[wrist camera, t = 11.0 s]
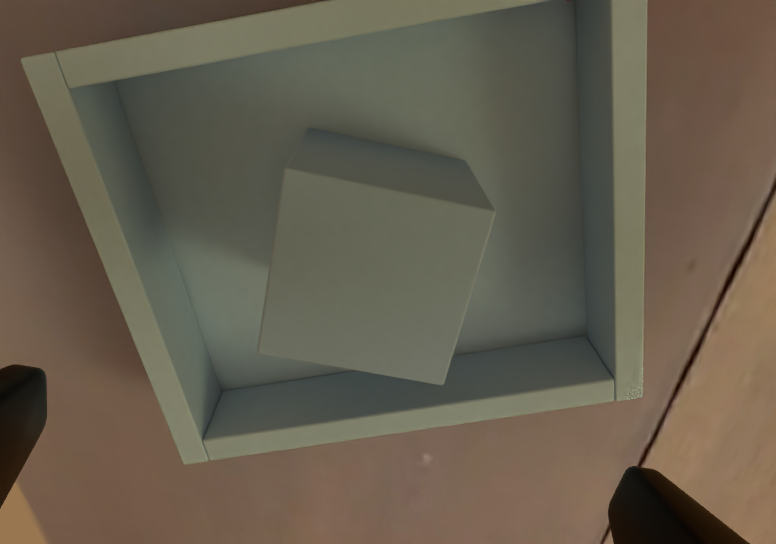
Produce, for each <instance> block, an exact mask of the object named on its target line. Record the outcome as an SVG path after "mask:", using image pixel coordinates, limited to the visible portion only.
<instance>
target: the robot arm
mask: <svg viewBox="0 0 776 544" xmlns="http://www.w3.org/2000/svg"><path fill="white" fill-rule="evenodd" d="M46 418H47V385H46V375H45V372H44V371H43V370H42V369H40V368H36V367H30V366H24V365H10V366H7V367H4V368H2V369H0V508H1V506H2V504H3V503H4V500H5V499H6V497H7V495H8V493H9V492H10V490H11V488H12V486H13V484H14V482H15V481H16V479H17V477H18V475H19V473H20V471H21V470H22V468H23V466H24V464H25V462H26V460H27V459H28V457H29V455H30V453H31V451H32V449H33V448H34V446H35V444H36V442H37V440H38V438H39V437H40V435H41V433H42V431H43V429H44V426H45V423H46ZM608 518H609V523H610V528H611V532H612V537H613V542H614V544H749V543H748V542H747V541H746V540H744V539H743V538H742V537H741V536H739V535H738V534H737V533H735V532H734V531H733V530H732V529H730V528H729V527H728V526H727V525H725V524H724V523H723V522H722V521H720V520H719V519H718V518H716V517H715V516H714V515H713V514H711V513H710V512H709V511H708V510H706V509H705V508H704V507H703V506H701V505H700V504H699V503H698V502H696V501H695V500H694V499H692V498H691V497H690V496H689V495H687V494H686V493H685V492H684V491H682V490H681V489H680V488H679V487H677V486H676V485H675V484H673V483H672V482H671V481H670V480H668V479H667V478H666V477H665V476H663V475H662V474H661V473H660V472H658V471H656V470H654V469H649V468H643V467H637V466H632V467H629V468H628V469H627V470H626V471H625V473H624V475H623V477H622V479H621V481H620V483H619V485H618V487H617V489H616V491H615V493H614V495H613V497H612V499H611V501H610V504H609V509H608Z"/></svg>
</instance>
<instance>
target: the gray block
mask: <svg viewBox="0 0 776 544" xmlns="http://www.w3.org/2000/svg"><path fill="white" fill-rule="evenodd" d="M495 215H496V211H495V209H494V207H493V206H492V204H491V202H490V201H489V199H488V197H487V196H486V194H485V192H484V190H483V189H482V187H481V185H480V184H479V182H478V180H477V178H476V177H475V175H474V173H473V172H472V170H471V168H470V167H469V165H468V163H467V162H466V161H463V160H459V159H454V158H449V157H445V156H440V155H435V154H431V153H426V152H421V151H417V150H412V149H407V148H403V147H398V146H393V145H389V144H384V143H379V142H375V141H370V140H365V139H361V138H356V137H351V136H347V135H342V134H337V133H333V132H328V131H323V130H319V129H314V128H308V129H307V131H306V132H305V134H304V136H303V138H302V139H301V141H300V143H299V145H298V146H297V148H296V150H295V151H294V153H293V155H292V157H291V158H290V160H289V162H288V163H287V165H286V167H285V169H284V171H283V178H282V185H281V191H280V198H279V205H278V212H277V218H276V225H275V232H274V239H273V246H272V252H271V259H270V266H269V273H268V279H267V286H266V293H265V300H264V307H263V313H262V320H261V327H260V334H259V340H258V347H257V352H258V353H259V354H264V355H270V356H276V357H281V358H287V359H293V360H299V361H304V362H310V363H316V364H322V365H328V366H333V367H339V368H345V369H351V370H356V371H362V372H368V373H374V374H380V375H385V376H391V377H397V378H403V379H408V380H414V381H420V382H426V383H431V384H437V385H443V384H444V382H445V379H446V375H447V372H448V369H449V366H450V362H451V359H452V356H453V353H454V349H455V346H456V343H457V339H458V336H459V333H460V330H461V326H462V323H463V320H464V317H465V313H466V310H467V307H468V304H469V300H470V297H471V294H472V290H473V287H474V284H475V281H476V277H477V274H478V271H479V268H480V264H481V261H482V258H483V255H484V251H485V248H486V245H487V241H488V238H489V235H490V232H491V228H492V225H493V222H494V219H495Z"/></svg>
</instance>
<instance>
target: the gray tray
mask: <svg viewBox="0 0 776 544" xmlns="http://www.w3.org/2000/svg"><path fill="white" fill-rule="evenodd" d="M21 63H22V65H23V68H24V70H25V73H26V75H27V78H28V80H29V83H30V85H31V88H32V90H33V93H34V95H35V98H36V100H37V103H38V105H39V108H40V110H41V113H42V115H43V117H44V120H45V122H46V125H47V127H48V130H49V132H50V135H51V137H52V140H53V142H54V145H55V147H56V150H57V152H58V155H59V157H60V160H61V162H62V165H63V167H64V170H65V172H66V175H67V177H68V179H69V182H70V184H71V187H72V189H73V192H74V194H75V197H76V199H77V202H78V204H79V207H80V209H81V212H82V214H83V217H84V219H85V222H86V224H87V227H88V229H89V232H90V234H91V236H92V239H93V241H94V244H95V246H96V249H97V251H98V254H99V256H100V259H101V261H102V264H103V266H104V269H105V271H106V274H107V276H108V279H109V281H110V284H111V286H112V289H113V291H114V293H115V296H116V298H117V301H118V303H119V306H120V308H121V311H122V313H123V316H124V318H125V321H126V323H127V326H128V328H129V331H130V333H131V336H132V338H133V341H134V343H135V346H136V348H137V350H138V353H139V355H140V358H141V360H142V363H143V365H144V368H145V370H146V373H147V375H148V378H149V380H150V383H151V385H152V388H153V390H154V393H155V395H156V398H157V400H158V403H159V405H160V407H161V410H162V412H163V415H164V417H165V420H166V422H167V425H168V427H169V430H170V432H171V435H172V437H173V440H174V442H175V445H176V447H177V450H178V452H179V455H180V457H181V460H182V462H183V464H185V465H186V464H193V463H200V462H207V461H208V460H209V459H210V460H218V459H225V458H232V457H239V456H246V455H252V454H259V453H266V452H273V451H280V450H286V449H293V448H300V447H307V446H314V445H320V444H327V443H334V442H341V441H348V440H355V439H361V438H368V437H375V436H382V435H389V434H395V433H402V432H409V431H416V430H423V429H429V428H436V427H443V426H450V425H457V424H463V423H470V422H477V421H484V420H491V419H498V418H504V417H511V416H518V415H525V414H532V413H538V412H545V411H552V410H559V409H566V408H572V407H579V406H586V405H593V404H600V403H606V402H613V401H614V399H615V401H623V400H629V399H636V398H642V397H643V351H644V261H645V171H646V80H647V0H570V1H567V0H326V1H321V2H315V3H310V4H305V5H299V6H294V7H289V8H283V9H278V10H273V11H267V12H262V13H257V14H251V15H246V16H241V17H235V18H230V19H225V20H219V21H214V22H209V23H203V24H198V25H193V26H188V27H182V28H177V29H172V30H166V31H161V32H156V33H150V34H145V35H140V36H134V37H129V38H124V39H118V40H113V41H108V42H102V43H97V44H92V45H86V46H81V47H76V48H70V49H65V50H60V51H56V52H49V53H44V54H39V55H33V56H28V57H23V58H21ZM308 128H314V129H319V130H323V131H328V132H333V133H337V134H342V135H347V136H351V137H356V138H361V139H365V140H370V141H375V142H379V143H384V144H389V145H393V146H398V147H403V148H407V149H412V150H417V151H421V152H426V153H431V154H435V155H440V156H445V157H449V158H454V159H459V160H463V161H466V162H467V163H468V165H469V167H470V168H471V170H472V172H473V173H474V175H475V177H476V178H477V180H478V182H479V184H480V185H481V187H482V189H483V190H484V192H485V194H486V196H487V197H488V199H489V201H490V202H491V204H492V206H493V207H494V209H495V211H496V215H495V219H494V222H493V225H492V228H491V232H490V235H489V238H488V241H487V245H486V248H485V251H484V255H483V258H482V261H481V264H480V268H479V271H478V274H477V277H476V281H475V284H474V287H473V290H472V294H471V297H470V300H469V304H468V307H467V310H466V313H465V317H464V320H463V323H462V326H461V330H460V333H459V336H458V339H457V343H456V346H455V349H454V353H453V356H452V359H451V362H450V366H449V369H448V372H447V375H446V379H445V382H444V384H443V385H437V384H431V383H426V382H420V381H414V380H408V379H403V378H397V377H391V376H385V375H380V374H374V373H368V372H362V371H356V370H351V369H345V368H339V367H333V366H328V365H322V364H316V363H310V362H304V361H299V360H293V359H287V358H281V357H276V356H270V355H264V354H259V353H258V352H257V347H258V340H259V334H260V327H261V320H262V313H263V307H264V300H265V293H266V286H267V279H268V273H269V266H270V259H271V252H272V246H273V239H274V232H275V225H276V218H277V212H278V205H279V198H280V191H281V185H282V178H283V171H284V169H285V167H286V165H287V163H288V162H289V160H290V158H291V157H292V155H293V153H294V151H295V150H296V148H297V146H298V145H299V143H300V141H301V139H302V138H303V136H304V134H305V132H306V131H307V129H308Z"/></svg>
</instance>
